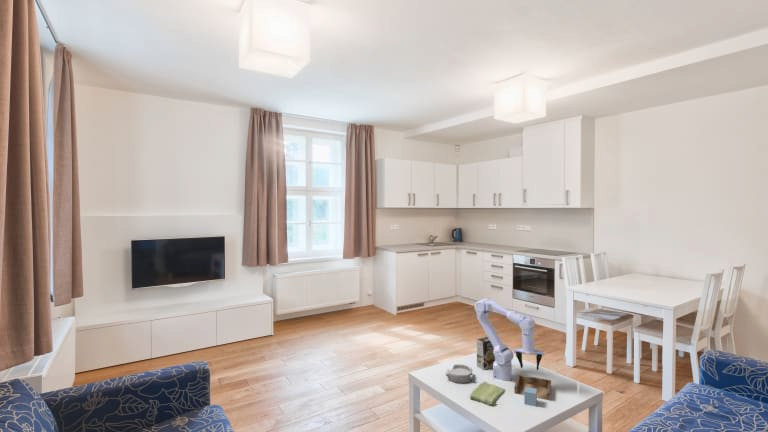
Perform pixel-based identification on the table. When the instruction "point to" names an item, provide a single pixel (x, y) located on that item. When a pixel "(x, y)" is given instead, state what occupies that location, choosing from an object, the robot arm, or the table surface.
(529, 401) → the slate block
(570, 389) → the table surface
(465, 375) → the dish
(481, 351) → the coffee box
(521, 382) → the walnut crate
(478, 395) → the washcloth
